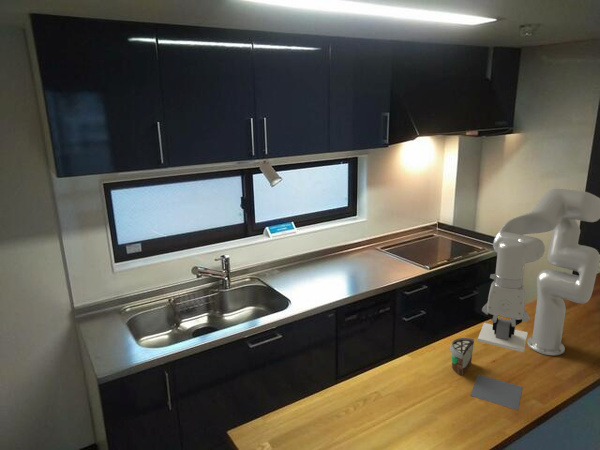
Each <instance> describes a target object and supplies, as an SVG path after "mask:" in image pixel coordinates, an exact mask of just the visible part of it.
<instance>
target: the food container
mask: <svg viewBox="0 0 600 450" xmlns="http://www.w3.org/2000/svg"><path fill="white" fill-rule="evenodd" d="M474 345H475V339H474V338H471V337H460V338H455V339H454V340H453V341H452V342H451V344H450V346H449V350H450V353H451V367H452V370H453V372H454V373H456V374H457V375H459V376H461V377H463V376H464V374H465V373H466V371H467V369H468V368H469V367H470V365H471V364H472V360H473V351H474Z"/></svg>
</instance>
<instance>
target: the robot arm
mask: <svg viewBox="0 0 600 450" xmlns="http://www.w3.org/2000/svg"><path fill="white" fill-rule="evenodd" d="M599 220H600V197H599V196H596V195H595V194H593V193H591V192H588V191H583V190H574V189H564V188H553V189H550V190H547V192H545V194H544V195H543V196H542V198H541V199H540V200H539V201H538V203H537V204H536V205H535V206H534V208H533V209H532V211H531V212H528V213H525V214H521V215H519V216H516V217H513V218H511V219H510V220H508V221H506V222H505V223H504V224H503V225H502V226H501V228H500V229H499V230H498V232H497V233H496V234H495V237H494V239H493V242H492V247H493V250H494V252H495V253H496V254H497V256H496V265H495V266H496V267H495V273H491V274H490V276H489V279H492V280H493V281H492V282H491V284H490V288H489V293H488V297H487V302H486V303H485V304H484V305H483V306H482V308H481V312H483V313H484V314H485V315H487V316H488V318H490V319H491V321H492V325H493V329H492V330H495V331H494V334H496V329H497V323H498V320H499V317H500V318H504V319H509V320H511V324H510V329H509V338H511V335H514V332H515V330H516V326H518V325H520V324H522V323H524V322H529V320H530V315H529V314H528V312H527V310H526V308H525V304H526V292H525V291H526V290H525V285H523V281H524V271H525V264H528V263H532V262H533V263H534V262H537V261H538V260H540V259H541V258H542V257H543V256H544V254H545V251H546V250H545V249H546V245H545V243H544V242H543V240H541V239H540V238H538V237H533V236H528V235H531V234H533V235H534V234H541V233H548V232H551V231H552V233H551V237H550V243H549V247H548V251H547V262H548V263H549V264H550V265H551V266H555V267H557V268H561V269H565V270H569V271H573V272H577V273H578V275H577V274H572V273H569V272H566V271H561V270H557V269H552V268H546V269H543V270H541V271H540V272H539V273H538V274H537V278H536V287H537V288H536V290H537V291H536V292H537V293H536V295H537V297H536V307H535V315H534V323H533V332H532V336H530V337H528V338H527V339H526V344H527V346H528V347H529V348H530V349H531V350H533V351H534V352H537V353H539V354H542V355H545V356H546V355H547V356H560V355H562V354H564V353H565V350H566V349H565V348H566V347H565V346H564V344H563V343H562V336H563V331H564V324H565V323H564V322H565V317H566V310H567V309H566V304H565V301H566V300H567V301H571V302H573V303H577V304H586V303H588V302H589V301H590V299H591V297H592V294H593V290H594V287H595V282H596V279H597V278H596V277H597V274H598V269H599V266H600V253H599V251H598V250H597V249H596V248H594V247H591V246H587V245H583V244H582V245H581V244H579V240H580V236H581V235H580V234H581V229H580V225H579V224H578V222H577V221H582V222H587V223H594V222H598V221H599ZM564 300H565V301H564Z"/></svg>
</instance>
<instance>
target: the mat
mask: <svg viewBox="0 0 600 450" xmlns="http://www.w3.org/2000/svg"><path fill="white" fill-rule="evenodd" d="M522 391H523V386H521V385H518V384H514V383H510V382H507V381H503V380H499V379H496V378H492V377H489V376H485V375H482V374H477V376H476V378H475V381H474V384H473V386H472V390H471V393H470V397H473V398H477V399H479V400H483V401H486V402H490V403H493V404H497V405H499V406H502V407H505V408H508V409H513V410H516V411H519V408H520V402H521V398H522V393H523V392H522Z"/></svg>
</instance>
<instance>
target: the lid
mask: <svg viewBox="0 0 600 450" xmlns="http://www.w3.org/2000/svg"><path fill="white" fill-rule="evenodd" d="M510 324H511V319H508V318H503V317H498V323H497V329H496V334H494V331H495V330H492V329H493V323H492V324H491V323H486V322H484V323H483V324H482V327H481V330H480V332H479V334H478V337H477V343H478V342H479V343H482V344H487V345H492V346H495V347H500V348H503V349H508V350H512V351H516V352H520V353H525V349H526V344H527V340H528V338H527V337H528V335H529V334H528V333H529V332H527V331H523V330H518V329H515V332H514V335H511V338H509V329H510Z"/></svg>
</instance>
